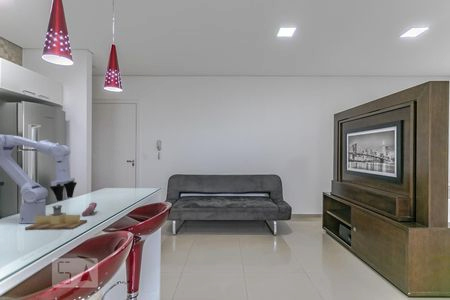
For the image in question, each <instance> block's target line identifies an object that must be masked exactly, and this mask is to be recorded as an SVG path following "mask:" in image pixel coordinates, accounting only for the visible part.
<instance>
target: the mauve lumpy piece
mask: <svg viewBox="0 0 450 300" xmlns="http://www.w3.org/2000/svg"><path fill="white" fill-rule="evenodd" d="M97 205H98V203H96V202H91V203H89V206H88V207H87V208H86V209H85V210H84V211H83V212H82V213H81V216H82V217H86V216H89V215H90V216H91V215H92V214H93V213H94V211H95V210H96V208H97Z"/></svg>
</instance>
